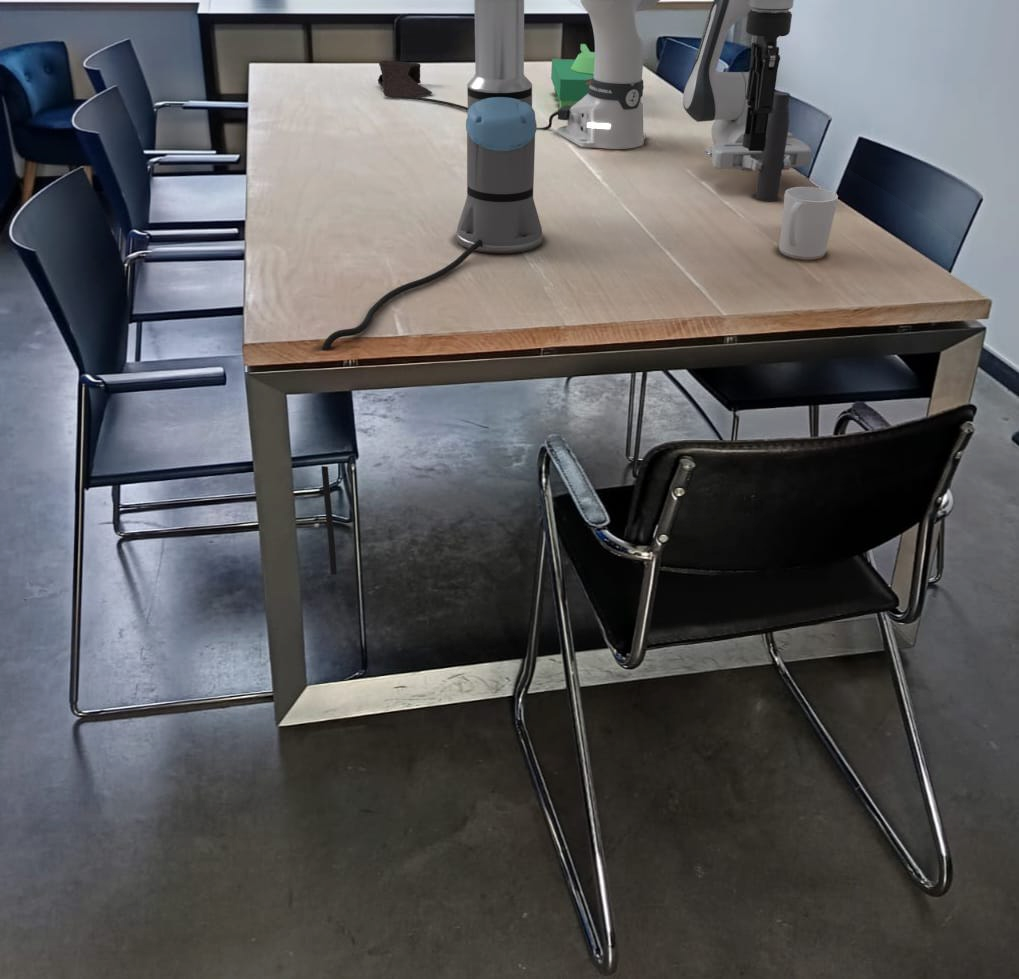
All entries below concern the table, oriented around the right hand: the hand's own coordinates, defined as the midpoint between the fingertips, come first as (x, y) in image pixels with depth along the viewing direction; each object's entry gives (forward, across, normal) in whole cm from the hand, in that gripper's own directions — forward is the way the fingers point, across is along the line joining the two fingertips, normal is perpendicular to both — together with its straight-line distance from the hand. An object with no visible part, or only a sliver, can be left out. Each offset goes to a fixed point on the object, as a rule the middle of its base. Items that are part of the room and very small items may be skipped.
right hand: (773, 166), depth 217 cm
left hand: (+13, -10, -7) cm, 18 cm away
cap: (+13, -10, -9) cm, 18 cm away
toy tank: (-91, -18, +6) cm, 93 cm away
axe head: (-105, -67, +6) cm, 125 cm away
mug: (+32, -6, +7) cm, 34 cm away
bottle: (-1, 0, +7) cm, 7 cm away
